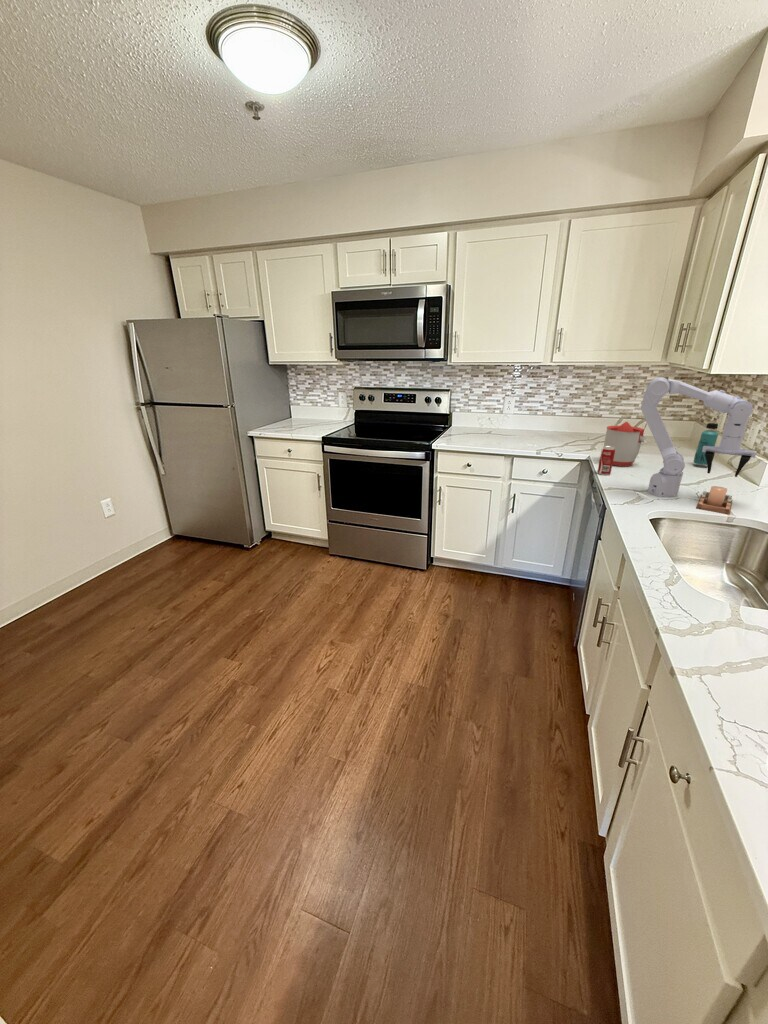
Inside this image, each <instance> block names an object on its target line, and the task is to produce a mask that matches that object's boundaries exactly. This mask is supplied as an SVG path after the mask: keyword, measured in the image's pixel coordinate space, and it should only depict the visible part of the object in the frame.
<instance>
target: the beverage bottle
mask: <svg viewBox="0 0 768 1024" xmlns="http://www.w3.org/2000/svg"><path fill="white" fill-rule="evenodd" d="M718 426H719V424H718V423H714V422H712V423H711V422H709V423H708V422H707V424H706V427H705V428H706V430H702V432H701V435H700V437H699V438H700V439H699V441H698V445H697V446H696V451H695V453H694V454H695V455H694V458H693V463H694V464H696V465H701V466H702V465H703V466H707V461H706V457H705V453H706V452H702V449H703V446H715V447H716V444H717V441H718V437H719V433H718V432H717V431H716V430H717V429H718ZM709 429H710V430H709Z"/></svg>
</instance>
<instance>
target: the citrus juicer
mask: <svg viewBox="0 0 768 1024" xmlns="http://www.w3.org/2000/svg"><path fill="white" fill-rule="evenodd" d="M644 432H645V429H644V428H642V427H639V426H638V427H637V426H632V425H631V424H630V423H629V422H628V421H624V422H623V423H622V424H620V425H608V426H607V427H606V432H605V438H604V443H603V447H604V446H611V447H615V454H614V459H613V464H612V466H616V467H629V466H632V465H633V464H634V462H635V461H636V459H637V457H638V456H639V453H640V449H641V445H642V443H644V444H645V443H647V438H646V437H645V436H644Z"/></svg>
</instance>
